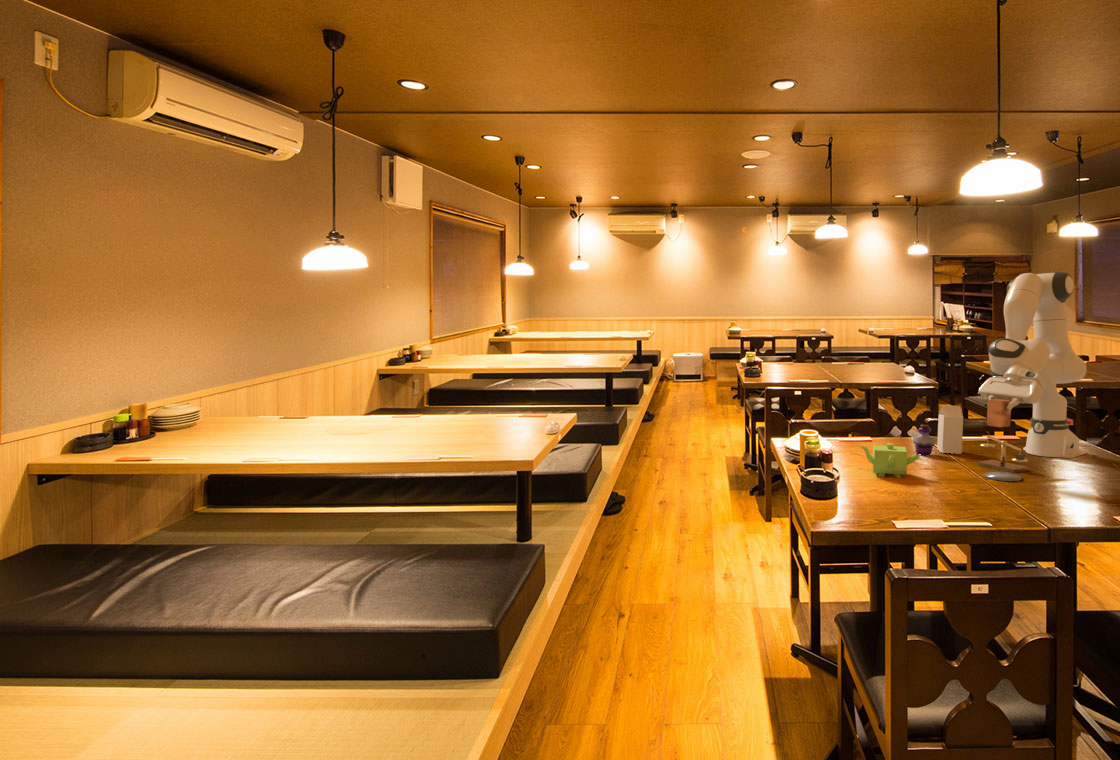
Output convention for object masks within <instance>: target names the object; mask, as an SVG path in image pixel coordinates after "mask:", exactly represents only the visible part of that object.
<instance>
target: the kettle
mask: <svg viewBox="0 0 1120 760" xmlns="http://www.w3.org/2000/svg"><path fill="white" fill-rule="evenodd" d="M872 446H873V449H872V450H873V451H872V454H871V453H870V450H869V447H867V446H864V445H859V446H858V447H859V448H861V449H862V450H863V451H864V452H865V457H866V459H867V461H868V462H869V463H871V465H872V469H873V473H874V474H878V475H877V477H880V476H884V477H885V476H886V475H894V477H895V478H896V477H901V478H902V475H903V476H904V475H906V476H907V475H908V472H907V471H908V465H911V464H912V463H914V462H916V461H917V460H920V455H917V453H914V454H912V455H911V456H909V457H908V451H907V447H905V446H897V445H895V444H894V443H890V442H886V445H877V444H876V445H875V444H874V445H872Z"/></svg>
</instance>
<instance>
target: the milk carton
mask: <svg viewBox="0 0 1120 760" xmlns="http://www.w3.org/2000/svg"><path fill="white" fill-rule="evenodd" d="M937 421H938V423H937V445H936V446H937V447H936V448H937V449H938V450H939V451H938V450H937V449H936V450H937V451H938V452H940V453H941V452H942V453H941V454H943V453H951V454H952V455H953V454H954V453H955V454H954V455H962V454H963V453H962V451H963V434H964V433H963V432H964V431H963V430H964V429H963V428H964V416H963V411H962V407H961V405H941V408H940V410H939V413H938V420H937Z"/></svg>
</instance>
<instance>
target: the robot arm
mask: <svg viewBox="0 0 1120 760" xmlns="http://www.w3.org/2000/svg"><path fill="white" fill-rule="evenodd" d="M1073 292H1074V279H1073V277H1072V276H1071V275H1070V273H1068V272H1066V271H1063V272H1062V271H1056V272H1047V273H1046V272H1043V273H1033V272H1025V273H1020V274H1019V275H1018V276H1016V277H1015V278H1014V279H1012V280H1010V281H1009V282H1008V284H1007V287H1006V296H1005V299H1004V303H1003V317H1004V324H1005V325H1004V326H1005V338H1004V337H1003V338H1002V337H1001V338H997V339H995V340H994V341H992V342H991V343H990V344H989V345H988V358H989V364H990V368H989V370H990V375H991V377H989V378H987V379H986V380H985V381H984V382H983V383H982V384H981V386H980V387H978V394H979V395H980V397H981V398H984V399H988V400H991V399H1004V400H1011V402H1010V403H1009V404H1008V403H1006V405H1005V406H1004V408H1005V409H1006V410H1011V411H1012V409H1013V408H1014V407H1016V406H1018V405H1020V403H1022V404H1032V417H1031V418H1030V427H1031V428H1030V429H1028V432H1027V436H1026V444H1025V446H1024V447H1023V449H1022V450H1023V451H1025V453H1026V454H1030V455H1032V456H1033V455H1034V456H1039V457H1047V458H1066V459H1074V458H1076V457H1080V456H1083V455H1086V454H1087V450H1085V449H1082V448H1081V449H1080V439H1079V437H1078V436H1077V435H1076V434H1074V433H1073V432H1072V431H1071V430H1070V429H1069V428H1070V426H1072V425H1073V424H1074V420H1073V419H1067V409H1068V400H1067V399H1066V397H1065V396H1063V395H1062V394H1060V393H1059V391H1058V388H1057V385H1058V384H1072V383H1075V382H1078V381H1081V380H1083V379H1084V378H1085V376H1086V374H1087V368H1088V367H1087V364H1086V362H1085V361H1084V359H1082V358H1081V357H1080V356H1078V354H1076V352H1075V351H1074V349H1073V347H1072V345H1071V342H1070V339H1069V330H1068V329H1069V328H1068V315H1067V314H1068V313H1067V307H1066V301H1067V299H1069V298H1070V296H1071V295H1072V294H1073ZM1032 322H1033V324H1032ZM1031 325H1033V338H1030V339H1027V335H1028V333H1029V330H1030V328H1031ZM1026 339H1027V340H1026ZM986 407H988V403H987V404H986Z"/></svg>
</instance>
